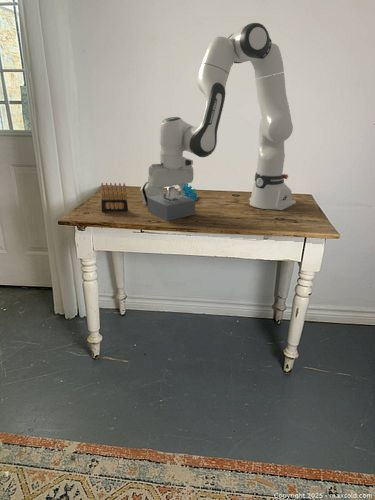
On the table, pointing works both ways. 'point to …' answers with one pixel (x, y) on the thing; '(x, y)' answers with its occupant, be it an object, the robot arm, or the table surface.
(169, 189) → the steel pin
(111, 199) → the ammunition clip
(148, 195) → the hinge
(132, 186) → the table surface
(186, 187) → the gear
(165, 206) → the pin block
